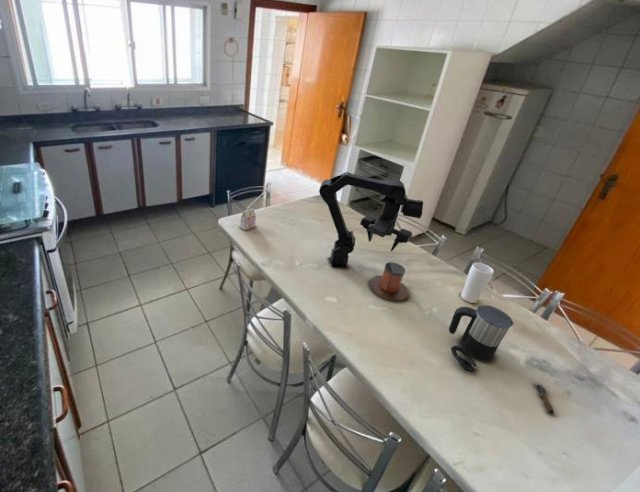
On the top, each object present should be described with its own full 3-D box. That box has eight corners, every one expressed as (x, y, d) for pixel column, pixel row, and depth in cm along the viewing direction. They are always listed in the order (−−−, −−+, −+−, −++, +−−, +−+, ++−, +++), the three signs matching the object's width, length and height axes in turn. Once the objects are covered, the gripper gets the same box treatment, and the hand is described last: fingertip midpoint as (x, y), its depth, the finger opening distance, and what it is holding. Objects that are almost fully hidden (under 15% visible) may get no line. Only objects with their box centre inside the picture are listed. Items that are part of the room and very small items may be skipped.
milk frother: (488, 342, 108) (506, 309, 102) (506, 384, 95) (528, 349, 88) (440, 330, 112) (455, 297, 106) (451, 368, 99) (468, 333, 92)
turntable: (377, 301, 124) (378, 299, 123) (364, 277, 136) (365, 275, 136) (414, 302, 124) (414, 300, 124) (397, 278, 137) (398, 276, 136)
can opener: (553, 414, 87) (555, 412, 87) (542, 410, 88) (544, 407, 88) (543, 387, 95) (545, 384, 94) (533, 383, 96) (535, 380, 95)
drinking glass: (482, 306, 124) (497, 274, 117) (462, 303, 125) (477, 271, 118) (474, 294, 130) (489, 263, 123) (455, 291, 131) (469, 260, 124)
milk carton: (240, 227, 167) (241, 210, 163) (250, 223, 171) (251, 206, 167) (244, 230, 165) (245, 213, 160) (254, 226, 169) (256, 209, 164)
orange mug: (383, 278, 134) (389, 259, 130) (401, 286, 130) (408, 268, 126) (374, 288, 128) (379, 269, 124) (392, 298, 124) (399, 278, 120)
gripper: (358, 210, 128) (350, 243, 135) (406, 229, 116) (395, 264, 123) (370, 202, 135) (362, 234, 142) (417, 219, 123) (406, 253, 130)
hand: (380, 246), depth 134 cm, fingers open, 9 cm apart
